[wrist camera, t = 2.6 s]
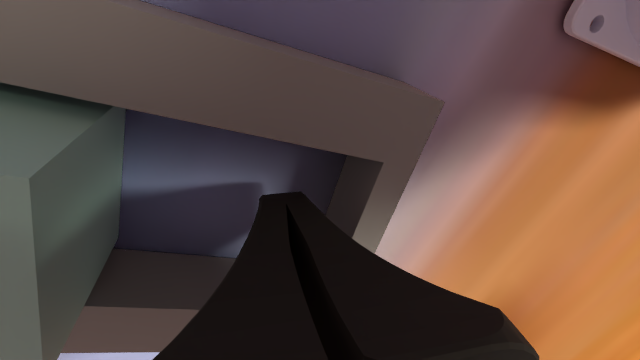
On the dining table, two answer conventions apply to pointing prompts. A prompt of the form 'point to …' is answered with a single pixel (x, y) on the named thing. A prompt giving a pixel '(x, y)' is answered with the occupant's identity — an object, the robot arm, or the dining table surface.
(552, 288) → the dining table surface
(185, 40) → the chute
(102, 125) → the block
